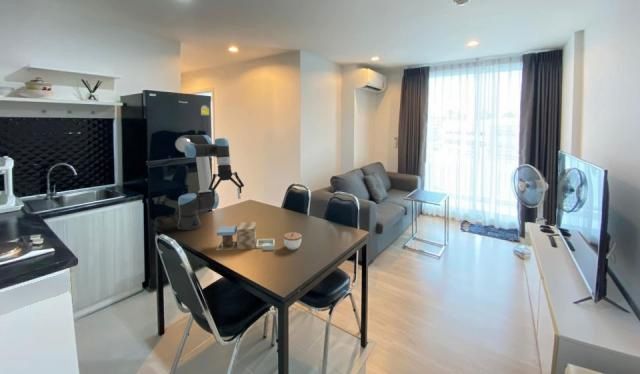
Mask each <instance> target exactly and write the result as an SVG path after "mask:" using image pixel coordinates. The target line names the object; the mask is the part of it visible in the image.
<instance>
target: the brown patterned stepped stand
mask: <svg viewBox="0 0 640 374" xmlns="http://www.w3.org/2000/svg"><path fill="white" fill-rule="evenodd" d="M256 223H257V222H256V221H252V222H251V221H250V222H238V223H237V225H236V226H237V229H236V241H235V240H233V245H232V247H224V248H223V241H219V242H218V244H217V246H216V249H215V251H230V250H231V251H232V250H250V249H252V250H253V249H254V250H255V249H256V244H257V233H256V232H257V230H256V229H257V228H256V227H257V226H256Z"/></svg>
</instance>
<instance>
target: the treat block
mask: <svg viewBox="0 0 640 374" xmlns="http://www.w3.org/2000/svg"><path fill="white" fill-rule="evenodd" d="M221 237H222V242H223V248H224V247H232V245H233V241H234V240H233V237H234V235H227V236H221Z"/></svg>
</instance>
